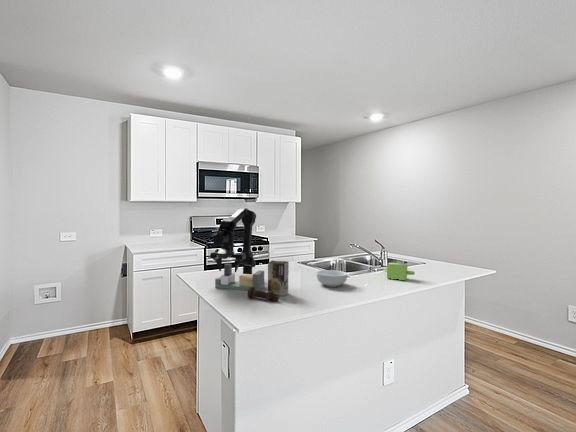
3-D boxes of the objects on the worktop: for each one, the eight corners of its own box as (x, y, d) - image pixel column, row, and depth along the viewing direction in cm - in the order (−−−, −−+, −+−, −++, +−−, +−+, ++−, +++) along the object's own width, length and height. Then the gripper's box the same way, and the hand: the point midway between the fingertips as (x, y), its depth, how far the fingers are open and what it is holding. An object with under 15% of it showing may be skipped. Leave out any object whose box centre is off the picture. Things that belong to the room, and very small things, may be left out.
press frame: (223, 282, 182) (223, 267, 182) (264, 286, 177) (264, 270, 176) (215, 287, 173) (215, 271, 172) (257, 291, 167) (258, 274, 167)
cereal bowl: (350, 283, 186) (350, 271, 185) (342, 290, 171) (342, 277, 170) (322, 280, 193) (322, 268, 192) (312, 286, 178) (312, 273, 177)
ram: (227, 280, 181) (228, 262, 181) (234, 280, 180) (235, 263, 180) (220, 284, 172) (220, 265, 172) (227, 284, 171) (228, 266, 171)
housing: (243, 282, 177) (243, 273, 177) (257, 284, 175) (257, 274, 175) (239, 285, 171) (239, 276, 171) (253, 286, 170) (253, 277, 169)
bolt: (276, 306, 150) (248, 300, 156) (281, 298, 154) (253, 293, 160) (274, 297, 147) (246, 291, 153) (279, 289, 151) (251, 284, 157)
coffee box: (288, 292, 165) (289, 261, 164) (284, 296, 159) (284, 263, 158) (272, 291, 168) (272, 260, 167) (267, 294, 162) (267, 262, 161)
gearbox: (415, 279, 199) (416, 264, 199) (412, 282, 191) (413, 266, 191) (385, 275, 208) (386, 261, 208) (381, 278, 199) (382, 262, 199)
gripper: (205, 244, 170) (204, 273, 171) (238, 245, 165) (238, 276, 166) (214, 241, 181) (214, 269, 181) (246, 243, 176) (246, 271, 177)
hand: (227, 271), depth 176 cm, fingers open, 9 cm apart
